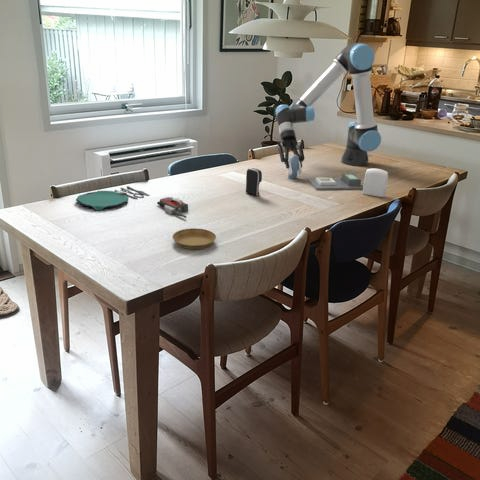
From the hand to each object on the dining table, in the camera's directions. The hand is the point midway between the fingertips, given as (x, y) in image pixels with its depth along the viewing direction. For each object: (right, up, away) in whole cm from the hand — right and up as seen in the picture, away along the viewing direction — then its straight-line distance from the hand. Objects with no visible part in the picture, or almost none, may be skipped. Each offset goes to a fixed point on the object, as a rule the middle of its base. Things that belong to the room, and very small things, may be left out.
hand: (295, 173), depth 244 cm
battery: (-21, -12, -22) cm, 33 cm away
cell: (-1, -1, +5) cm, 5 cm away
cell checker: (+19, -6, -3) cm, 20 cm away
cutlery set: (-80, -16, -38) cm, 90 cm away
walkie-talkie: (-53, -22, -46) cm, 74 cm away
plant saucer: (-43, -34, -74) cm, 92 cm away
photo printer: (+34, -12, -15) cm, 39 cm away
